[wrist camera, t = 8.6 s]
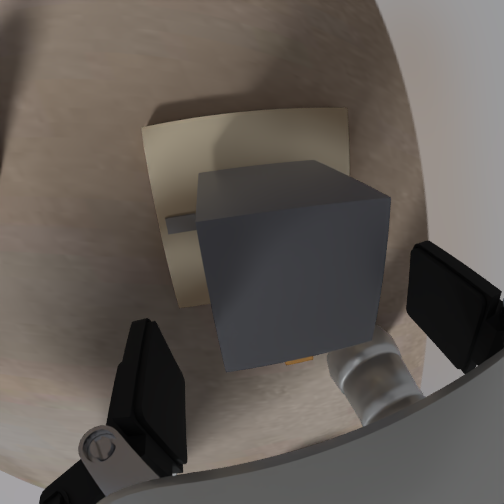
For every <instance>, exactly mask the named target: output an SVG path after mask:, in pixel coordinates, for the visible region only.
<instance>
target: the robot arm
mask: <svg viewBox="0 0 504 504" xmlns="http://www.w3.org/2000/svg"><path fill="white" fill-rule="evenodd" d="M501 292H502V291H500V290H499V289H498V288H496V287H495V286H494V285H492V284H491V283H490V282H488V281H487V280H486V279H484V278H483V277H481V276H480V275H479V274H477V273H476V272H474V271H473V270H472V269H470V268H469V267H468V266H466V265H464V264H463V263H462V262H460V261H459V260H457V259H456V258H455V257H453V256H452V255H450V254H449V253H447V252H446V251H444V250H443V249H441V248H439V247H438V246H436V245H435V244H433V243H432V242H430V241H424V242H421V243H418V244H415V245H414V247H413V250H412V251H411V256H410V272H409V285H408V295H407V305H406V309H407V313H408V315H409V316H410V317H411V318H412V319H413V320H414V322H415V323H416V324H417V325H418V326H419V327H420V328H421V329H422V330H423V331H424V332H425V333H426V334H427V336H428V337H429V338H430V339H431V340H432V341H433V342H434V343H435V344H436V346H437V347H438V348H439V349H440V350H441V351H442V352H443V353H444V354H445V356H446V357H447V358H448V359H449V360H450V361H451V363H452V364H453V365H454V366H455V367H456V368H457V369H461V370H462V371H463V373H464V374H465V375H463V376H462V377H460V378H459V379H457V380H455V381H454V382H452V383H450V384H449V385H447V386H445V387H444V388H442V389H440V390H438V391H436V392H435V393H433V394H431V395H429V396H427V397H425V398H424V399H422V400H420V401H418V402H416V403H414V404H412V405H410V406H408V407H406V408H404V409H402V410H400V411H398V412H396V413H394V414H391V415H389V416H387V417H385V418H383V419H380V420H378V421H376V422H374V423H371V424H369V425H366V426H364V427H362V428H359V429H357V430H354V431H351V432H349V433H346V434H344V435H341V436H338V437H335V438H333V439H330V440H327V441H324V442H321V443H318V444H315V445H312V446H309V447H305V448H302V449H299V450H295V451H292V452H288V453H285V454H281V455H277V456H273V457H269V458H265V459H261V460H257V461H252V462H248V463H243V464H239V465H234V466H229V467H223V468H218V469H212V470H206V471H199V472H193V473H187V474H181V475H177V473H183V464H186V463H187V444H186V418H185V381H184V377H183V375H182V372H181V371H180V369H179V367H178V365H177V363H176V361H175V359H174V357H173V355H172V353H171V351H170V349H169V347H168V345H167V343H166V341H165V339H164V337H163V335H162V333H161V331H160V329H159V327H158V325H157V323H156V322H155V321H153V322H151V321H150V319H148V318H146V319H142V320H137V321H133V322H132V324H131V327H130V331H129V335H128V339H127V343H126V348H125V352H124V356H123V361H122V362H121V363H120V364H119V366H118V368H117V373H116V377H115V382H114V387H113V392H112V396H111V402H110V407H109V412H108V418H107V423H106V425H100V426H97V427H94V428H92V429H90V430H88V431H87V432H86V433H85V434H84V435H83V437H82V439H81V440H80V443H79V447H78V451H79V456H80V458H81V459H80V460H79V461H78V462H77V463H75V464H74V465H73V466H72V467H71V468H70V469H68V470H67V471H66V472H65V473H64V474H62V475H61V476H60V477H59V478H57V479H56V480H55V481H54V482H53V483H51V484H50V485H49V486H48V487H46V489H45V490H44V491H43V492H42V494H41V496H40V501H39V504H504V299H503V301H501V300H500V296H501ZM476 365H478V366H477V367H476ZM475 367H476V368H475Z"/></svg>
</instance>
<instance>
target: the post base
mask: <svg viewBox="0 0 504 504" xmlns="http://www.w3.org/2000/svg"><path fill="white" fill-rule="evenodd" d="M141 130H142V137H143V144H144V150H145V156H146V162H147V168H148V174H149V179H150V185H151V190H152V195H153V200H154V205H155V210H156V215H157V220H158V224H159V229H160V233H161V238H162V242H163V247H164V251H165V255H166V259H167V263H168V268H169V272H170V276H171V279H172V283H173V287H174V291H175V295H176V298H177V302H178V306H179V308H185V307H192V306H199V305H206V304H211V302H210V298H209V293H208V288H207V283H206V278H205V272H204V267H203V262H202V257H201V251H200V246H199V240H198V235H197V229H196V223H195V219H196V202H197V187H198V174H199V173H202V172H209V171H216V170H223V169H230V168H238V167H246V166H255V165H263V164H273V163H283V162H294V161H306V160H316V161H318V162H320V163H322V164H324V165H327V166H329V167H331V168H333V169H335V170H337V171H340V172H342V173H344V174H346V175H348V176H350V168H349V129H348V109H347V108H339V107H323V108H288V109H270V110H257V111H246V112H236V113H227V114H218V115H211V116H203V117H196V118H190V119H184V120H178V121H172V122H166V123H161V124H156V125H151V126H146V127H141Z"/></svg>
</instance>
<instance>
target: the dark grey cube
mask: <svg viewBox="0 0 504 504" xmlns="http://www.w3.org/2000/svg"><path fill="white" fill-rule="evenodd" d="M390 205H391V197H389V196H387V195H385V194H383V193H382V192H380V191H378V190H376V189H374V188H372V187H370V186H368V185H366V184H364V183H362V182H360V181H358V180H356V179H354V178H352V177H350V176H348V175H346V174H344V173H342V172H340V171H337V170H335V169H333V168H331V167H329V166H327V165H324V164H322V163H320V162H318V161H316V160H306V161H294V162H283V163H273V164H263V165H255V166H246V167H238V168H230V169H223V170H216V171H209V172H202V173H199V174H198V187H197V202H196V219H195V223H196V229H197V235H198V240H199V246H200V251H201V257H202V262H203V267H204V272H205V278H206V283H207V288H208V293H209V298H210V302H211V307H212V312H213V317H214V321H215V326H216V331H217V335H218V340H219V344H220V349H221V353H222V357H223V362H224V366H225V370H226V372H232V371H238V370H244V369H250V368H256V367H262V366H267V365H272V364H277V363H282V362H285V364H286V365H291V364H295V363H300V362H305V361H309V360H313V356H315V355H319V354H323V353H327V352H331V351H335V350H339V349H343V348H347V347H351V346H354V345H358V344H361V343H365V342H369V341H372V338H373V333H374V328H375V323H376V318H377V312H378V306H379V301H380V294H381V288H382V281H383V274H384V267H385V259H386V250H387V241H388V231H389V219H390Z"/></svg>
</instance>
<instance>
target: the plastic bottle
mask: <svg viewBox="0 0 504 504" xmlns="http://www.w3.org/2000/svg"><path fill="white" fill-rule="evenodd" d="M327 364H328V368H329V372H330V376H331V378H332V379H333V380H334V382H335V383H336V385H337V386H338V388H339V389H340V390H341V392H342V393H343V394H344V395H345V396H346V398H347V399H348V401H349V403H350V404H351V406H352V408H353V409H354V411H355V413H356V414H357V416H358V418H359V419H360V421H361V424H362V426H363V427H364V426H366V425H369V424H371V423H374V422H376V421H378V420H380V419H383V418H385V417H387V416H389V415H391V414H394V413H396V412H398V411H400V410H402V409H404V408H406V407H408V406H410V405H412V404H414V403H416V402H418V401H420V400H422V399H424V398H425V396H423V393H422V392H421V390H420V389H419V388H418V386H417V385H416V383H415V381H414V379H413V378H412V376H411V374H410V372H409V370H408V369H407V367H406V365H405V363H404V362H403V360H402V358H401V354H400V352H399V349H398V347H397V345H396V343H395V341H394V340H393V338H392V336H391V335H390V334H389V333H388V332H386V331H385V330H384V329H383V328H382V327H380V326H379V325H376V324H375V328H374V333H373V338H372V341H369V342H365V343H361V344H358V345H354V346H351V347H347V348H343V349H339V350H335V351H331V352H328V355H327Z"/></svg>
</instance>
